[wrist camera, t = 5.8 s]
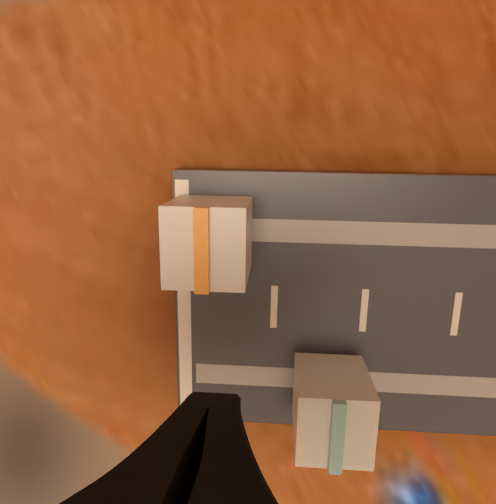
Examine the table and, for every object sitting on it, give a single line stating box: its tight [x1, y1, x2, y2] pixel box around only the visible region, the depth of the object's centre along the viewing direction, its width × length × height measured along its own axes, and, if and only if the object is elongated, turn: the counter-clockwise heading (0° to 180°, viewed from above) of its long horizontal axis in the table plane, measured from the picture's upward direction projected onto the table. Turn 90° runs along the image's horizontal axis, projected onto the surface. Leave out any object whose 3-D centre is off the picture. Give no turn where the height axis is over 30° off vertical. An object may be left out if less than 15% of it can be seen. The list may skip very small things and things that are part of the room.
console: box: [172, 168, 496, 436], centre depth 20 cm, size 17×12×2 cm
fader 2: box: [292, 353, 381, 475], centre depth 18 cm, size 3×3×4 cm
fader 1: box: [158, 195, 253, 295], centre depth 16 cm, size 3×3×4 cm
